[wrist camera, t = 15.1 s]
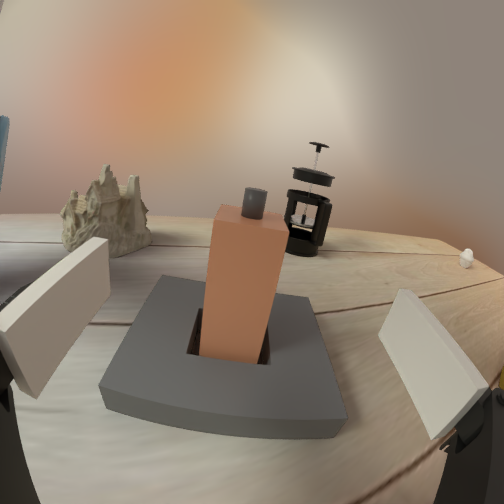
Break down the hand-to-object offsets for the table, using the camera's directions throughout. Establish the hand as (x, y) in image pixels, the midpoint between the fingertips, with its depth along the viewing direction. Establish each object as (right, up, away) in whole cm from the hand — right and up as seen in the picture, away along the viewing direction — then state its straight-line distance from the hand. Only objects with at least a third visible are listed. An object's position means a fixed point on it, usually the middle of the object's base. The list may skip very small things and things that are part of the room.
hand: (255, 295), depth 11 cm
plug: (-3, -8, +14) cm, 17 cm away
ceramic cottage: (-27, +4, +34) cm, 44 cm away
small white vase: (+75, -4, +64) cm, 99 cm away
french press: (+10, +2, +48) cm, 49 cm away
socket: (-3, -8, +14) cm, 17 cm away
